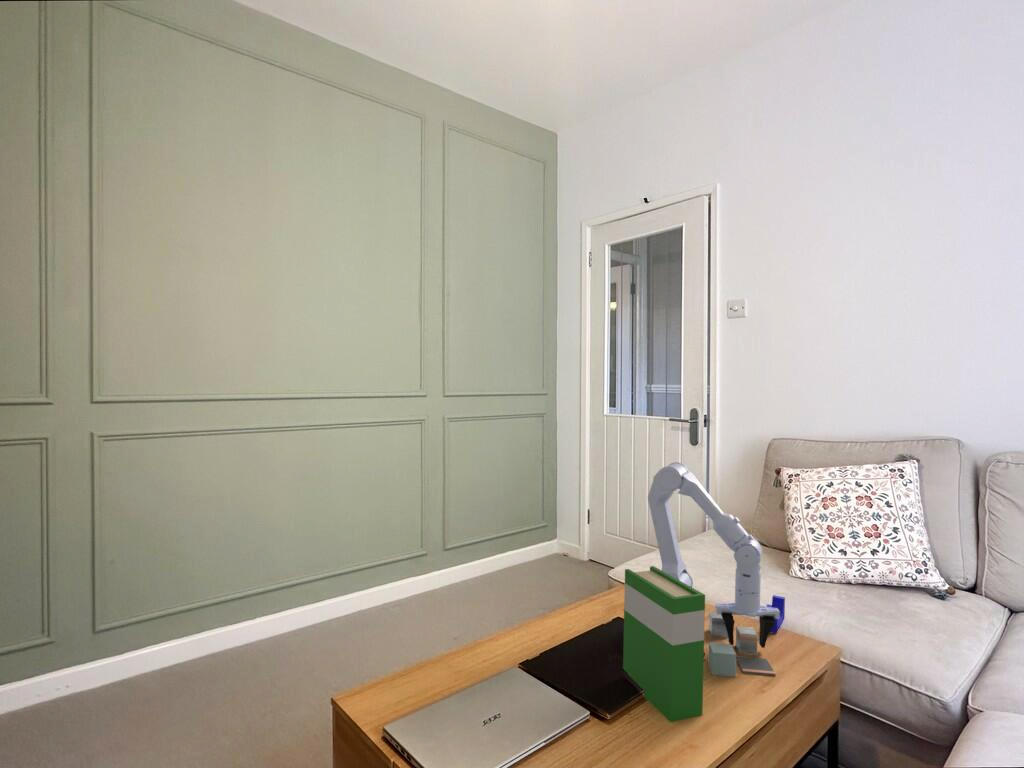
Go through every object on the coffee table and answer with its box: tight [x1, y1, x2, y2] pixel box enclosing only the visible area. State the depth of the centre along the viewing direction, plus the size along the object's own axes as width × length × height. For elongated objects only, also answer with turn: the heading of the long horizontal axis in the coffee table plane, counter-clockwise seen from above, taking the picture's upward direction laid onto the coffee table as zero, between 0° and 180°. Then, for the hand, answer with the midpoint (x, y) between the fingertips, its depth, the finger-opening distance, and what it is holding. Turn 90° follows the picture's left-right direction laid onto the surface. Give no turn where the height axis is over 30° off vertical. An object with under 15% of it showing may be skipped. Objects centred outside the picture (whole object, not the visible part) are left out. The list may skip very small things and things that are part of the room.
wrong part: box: [708, 611, 728, 639], centre depth 148 cm, size 4×4×5 cm
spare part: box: [735, 625, 759, 655], centre depth 140 cm, size 4×4×5 cm
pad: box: [736, 655, 776, 677], centre depth 132 cm, size 7×7×1 cm
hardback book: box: [622, 565, 706, 723], centre depth 119 cm, size 18×7×24 cm, turn 20°
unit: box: [707, 641, 737, 677], centre depth 130 cm, size 5×5×5 cm
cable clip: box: [766, 594, 786, 634], centre depth 155 cm, size 12×4×6 cm, turn 146°
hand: (746, 644), depth 140 cm, fingers open, 7 cm apart
